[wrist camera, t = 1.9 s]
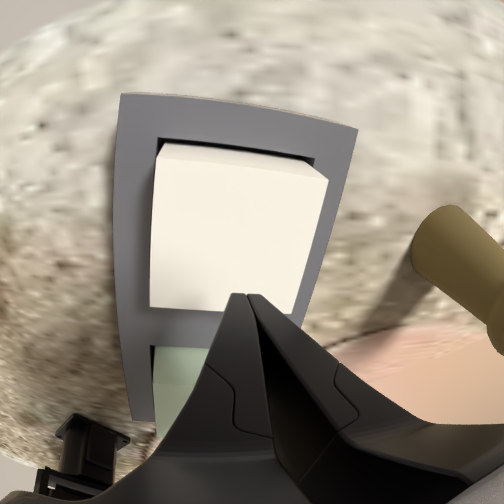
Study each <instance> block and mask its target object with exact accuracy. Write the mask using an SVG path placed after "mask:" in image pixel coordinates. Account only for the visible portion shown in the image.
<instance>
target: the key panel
mask: <svg viewBox="0 0 504 504" xmlns="http://www.w3.org/2000/svg"><path fill="white" fill-rule="evenodd" d="M357 133H358V129H356V128H353V127H350V126H347V125H344V124H340V123H337V122H334V121H331V120H327V119H323V118H319V117H314V116H310V115H305V114H301V113H296V112H291V111H286V110H281V109H276V108H271V107H265V106H259V105H253V104H247V103H241V102H234V101H227V100H220V99H212V98H203V97H194V96H184V95H173V94H160V93H143V92H133V93H121V96H120V105H119V114H118V124H117V135H116V149H115V165H114V190H113V250H114V275H115V292H116V305H117V317H118V327H119V337H120V346H121V354H122V361H123V369H124V375H125V382H126V388H127V394H128V400H129V406H130V411H131V416H132V420H136V421H147V422H156V420H155V408H154V396H153V371H154V358H155V346H156V345H157V346H172V347H189V348H210V346H211V343H212V341H213V338H214V336H215V333H216V330H217V328H218V325H219V323H220V320H221V318H222V315H223V312H224V311H206V310H189V309H174V308H161V307H150V251H151V226H152V208H153V193H154V180H155V168H156V158H157V156H158V154H159V153H160V151H161V149H162V147H163V146H164V144H165V142H170V143H182V144H192V145H202V146H211V147H219V148H227V149H235V150H243V151H250V152H257V153H264V154H270V155H276V156H283V157H289V158H295V159H300V160H303V161H305V162H306V163H307V164H309V165H310V166H311V167H313V168H314V169H315V170H317V171H318V172H319V173H320V174H322V175H323V176H324V177H326V178H327V179H328V180H329V181H328V185H327V189H326V193H325V197H324V201H323V205H322V208H321V212H320V216H319V220H318V223H317V227H316V231H315V234H314V238H313V242H312V245H311V249H310V252H309V256H308V259H307V263H306V266H305V270H304V273H303V277H302V280H301V283H300V287H299V290H298V293H297V297H296V300H295V303H294V307H293V310H292V313H291V314H284V315H285V316H287V317H288V318H289V319H290V320H291V321H292V322H294V323H295V324H296V325H297V326H298V327H299V328H301V326H302V323H303V320H304V317H305V314H306V311H307V308H308V305H309V302H310V299H311V296H312V293H313V290H314V287H315V284H316V280H317V277H318V274H319V271H320V268H321V265H322V261H323V258H324V255H325V252H326V248H327V245H328V242H329V238H330V235H331V231H332V228H333V224H334V221H335V217H336V214H337V210H338V207H339V203H340V200H341V196H342V192H343V189H344V185H345V181H346V177H347V173H348V170H349V166H350V162H351V158H352V154H353V150H354V146H355V142H356V137H357Z"/></svg>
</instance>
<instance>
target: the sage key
mask: <svg viewBox="0 0 504 504" xmlns="http://www.w3.org/2000/svg"><path fill="white" fill-rule="evenodd" d="M209 349H210V348H189V347H172V346H157V345H156V346H155V358H154V371H153V396H154V408H155V420H156V430H157V438H164V437H165V435H166V433H167V432H168V430H169V429H170V427H171V425H172V424H173V422H174V421H175V419H176V417H177V416H178V414H179V413H180V411H181V409H182V408H183V406H184V405H185V403H186V401H187V399H188V397H189V396H190V394H191V392H192V390H193V388H194V386H195V384H196V381H197V379H198V377H199V374H200V372H201V369H202V366H203V364H204V362H205V359H206V356H207V354H208V351H209Z"/></svg>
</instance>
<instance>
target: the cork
mask: <svg viewBox="0 0 504 504" xmlns="http://www.w3.org/2000/svg"><path fill="white" fill-rule="evenodd" d="M410 257H411V262H412V266H413V268H414V269H415V270H416V272H417V273H418V274H420V275H421V276H422V277H424V278H425V279H426V280H428V281H429V282H431V283H432V284H433V285H435V286H436V287H437V288H439V289H440V290H441V291H443V292H444V293H446V294H447V295H448V296H450V297H451V298H452V299H453V300H455V301H456V302H457V303H459V304H460V305H461V306H463V307H464V308H465V309H467V310H468V311H469V312H470V313H472V314H473V315H474V316H476V317H477V318H478V319H479V320H481V321H482V322H483V323H484V324H486V325H487V334H488V336H489V338H490V341H491V343H492V345H493V347H494V348H495V349H496V350H497V352H499V353H500V354H501V355H503V356H504V249H503V248H502V247H501V246H500V245H499V244H498V243H497V242H496V241H495V240H494V239H493V238H492V237H491V236H490V235H489V234H488V233H487V232H486V231H485V230H484V229H483V228H482V227H481V226H479V225H478V224H477V223H476V222H475V221H474V220H473V219H472V218H471V217H470V216H469V215H468V214H467V213H465V212H464V211H463V210H462V209H461V208H460V207H458V206H454V205H447V206H442V207H440V208H438V209H437V210H435V211H433V212H432V213H431V214H430V215H429V216H428V217H427V218H426V219H425V220H424V221H423V222H422V224H421V225H420V227H419V229H418V230H417V232H416V234H415V237H414V240H413V243H412V245H411V256H410Z"/></svg>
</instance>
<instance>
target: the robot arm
mask: <svg viewBox="0 0 504 504" xmlns="http://www.w3.org/2000/svg"><path fill="white" fill-rule="evenodd" d="M55 436H56V437H57V438H59V439H61V440H63V445H62V450H61V456H60V462H59V468H58V471H55V470H53V469H50V467H47V466H45V469H38V470H37V476H36V482H35V487H34V492H28V491H13V492H11V493H9V494H8V495H7V496H6V497H5V498H3V499H2V500H1V501H0V504H504V424H484V425H453V424H452V425H451V424H449V425H448V424H435V423H430V422H427V421H423V420H421V419H419V418H417V417H416V416H414V415H412V414H411V413H409V412H408V411H406V410H405V409H403V408H402V407H400V406H398V405H397V404H396V403H394V402H393V401H391V400H390V399H388V398H387V397H385V396H384V395H382V394H381V393H379V392H378V391H376V390H375V389H374V388H372V387H371V386H370V385H368V384H367V383H365V382H364V381H363V380H361V379H360V378H359V377H358V376H356V375H355V374H354V373H353V372H351V371H350V370H349V369H348V368H347V367H345V366H344V365H343V364H342V363H339V361H338V360H337V359H336V358H335V357H333V356H332V355H331V354H330V353H329V352H327V351H326V350H325V349H324V348H323V347H322V346H320V345H319V344H318V343H317V342H316V341H315V340H313V339H312V338H311V337H310V336H309V335H307V334H306V333H305V332H304V331H303V330H302V329H300V328H299V327H298V326H297V325H296V324H295V323H294V322H292V321H291V320H290V319H289V318H288V317H287V316H285V315H284V314H283V313H282V312H281V311H280V310H279V309H277V308H276V307H275V306H274V305H273V304H272V303H270V302H269V301H268V300H267V299H266V298H265V297H264V296H262V295H261V294H250V293H248V294H247V295H246V294H245V293H231V294H230V297H229V299H228V302H227V305H226V307H225V310H224V312H223V315H222V318H221V320H220V323H219V325H218V328H217V330H216V333H215V336H214V338H213V341H212V343H211V346H210V349H209V351H208V354H207V356H206V359H205V362H204V364H203V366H202V369H201V372H200V374H199V377H198V379H197V381H196V384H195V386H194V388H193V390H192V392H191V394H190V396H189V397H188V399H187V401H186V403H185V405H184V406H183V408H182V409H181V411H180V413H179V414H178V416H177V417H176V419H175V421H174V422H173V424H172V425H171V427H170V429H169V430H168V432H167V433H166V435H165V437H164V438H163V440H162V441H161V443H160V444H159V446H158V447H157V448H156V450H155V451H154V452H153V453H152V455H151V456H150V457H149V458H148V459H147V460H146V461H145V462H144V463H142V464H141V465H140V466H138V467H137V468H136V469H134V470H133V471H132V472H130V473H129V474H128V475H126V476H125V477H123V478H122V479H121V480H119V481H118V482H116V483H115V484H114V481H115V465H116V452H117V451H118V450H120V449H121V448H123V447H124V446H126V445H128V444H129V443H130V438H129V437H127V436H124V435H122V434H119V433H117V432H115V431H112V430H110V429H108V428H105V427H103V426H101V425H99V424H96V423H94V422H92V421H90V420H88V419H86V418H84V417H81V416H79V415H77V414H73V415H72V416H71V417H70V418H69V419H68V420H67V421H66V422H65V423H64V424H63V425H62V426H61V427H60V428H59V429H58V430H57V431H56V434H55ZM48 486H51V487H54V488H55V490H54V489H50V488H48Z"/></svg>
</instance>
